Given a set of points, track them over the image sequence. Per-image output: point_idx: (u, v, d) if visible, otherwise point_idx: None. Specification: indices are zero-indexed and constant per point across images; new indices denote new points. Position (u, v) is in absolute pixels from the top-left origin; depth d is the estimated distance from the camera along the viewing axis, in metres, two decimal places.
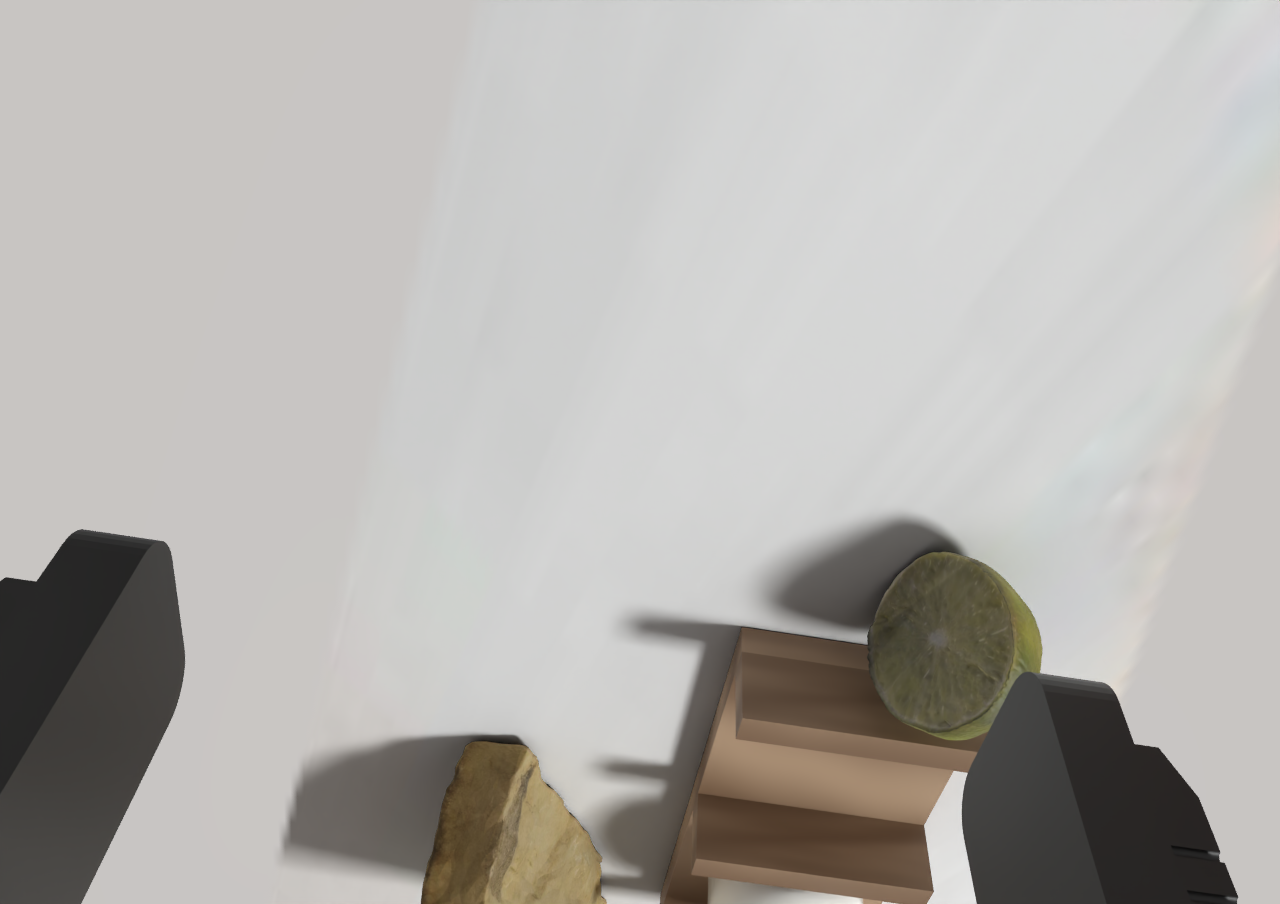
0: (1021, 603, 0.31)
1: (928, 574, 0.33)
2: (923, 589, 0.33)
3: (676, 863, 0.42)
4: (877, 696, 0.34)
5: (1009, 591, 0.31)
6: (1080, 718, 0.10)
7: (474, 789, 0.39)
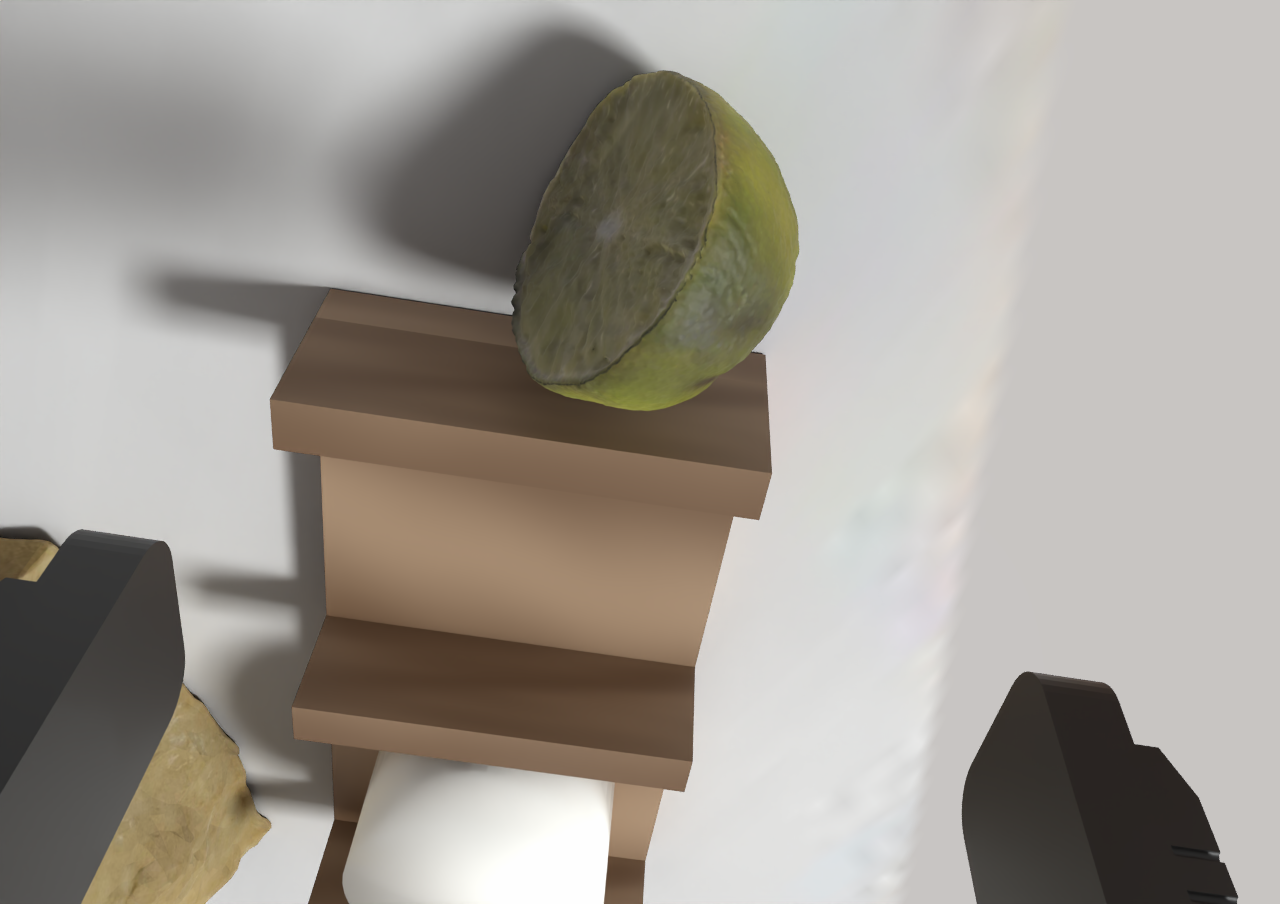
0: (745, 125, 0.16)
1: (605, 129, 0.18)
2: (596, 157, 0.18)
3: (332, 747, 0.27)
4: None
5: (722, 101, 0.16)
6: (1079, 718, 0.10)
7: None
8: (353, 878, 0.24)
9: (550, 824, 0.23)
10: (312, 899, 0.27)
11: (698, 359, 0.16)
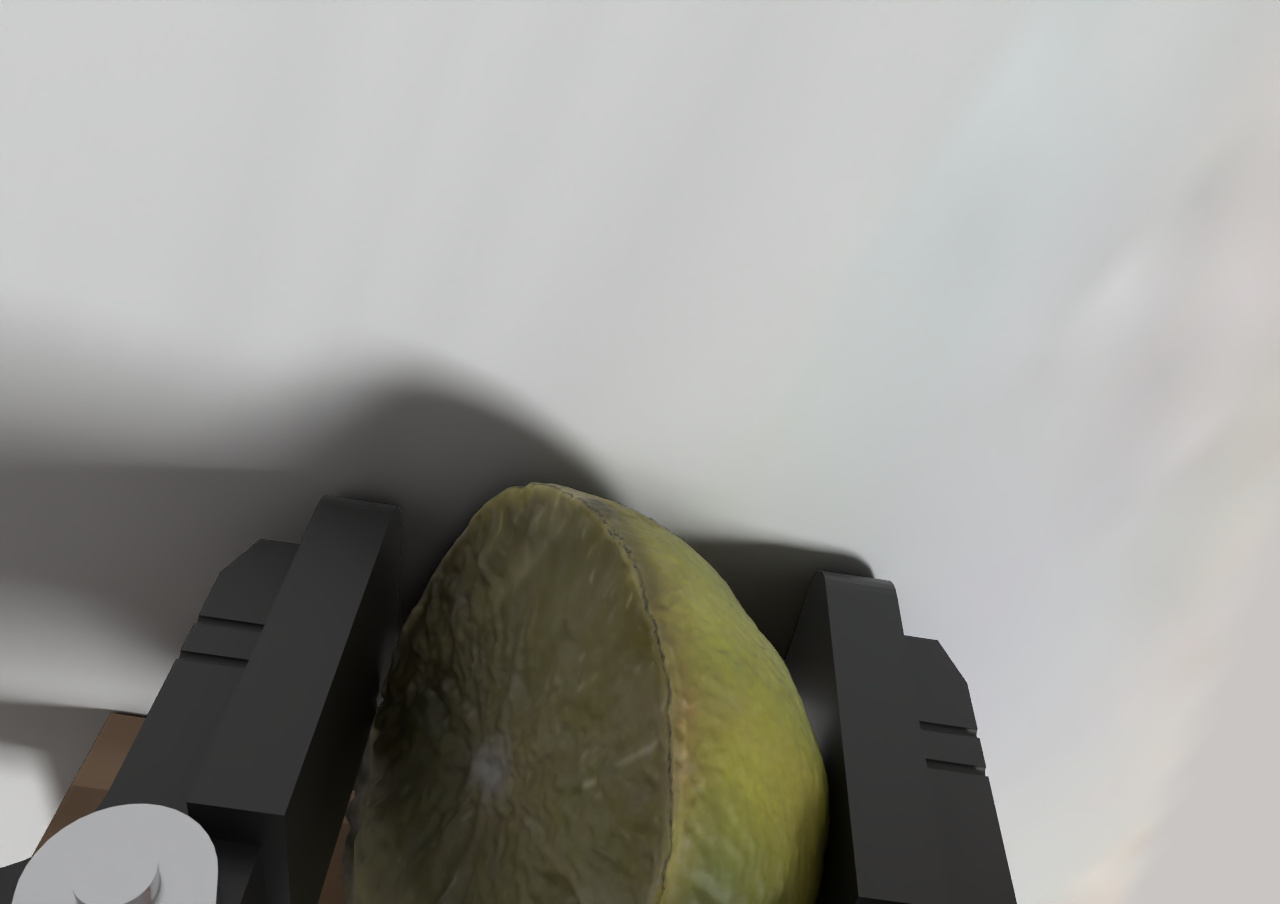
0: (732, 647, 0.08)
1: (494, 557, 0.10)
2: (479, 604, 0.10)
3: None
4: None
5: (687, 603, 0.08)
6: (855, 608, 0.10)
7: None
8: None
9: None
10: None
11: None
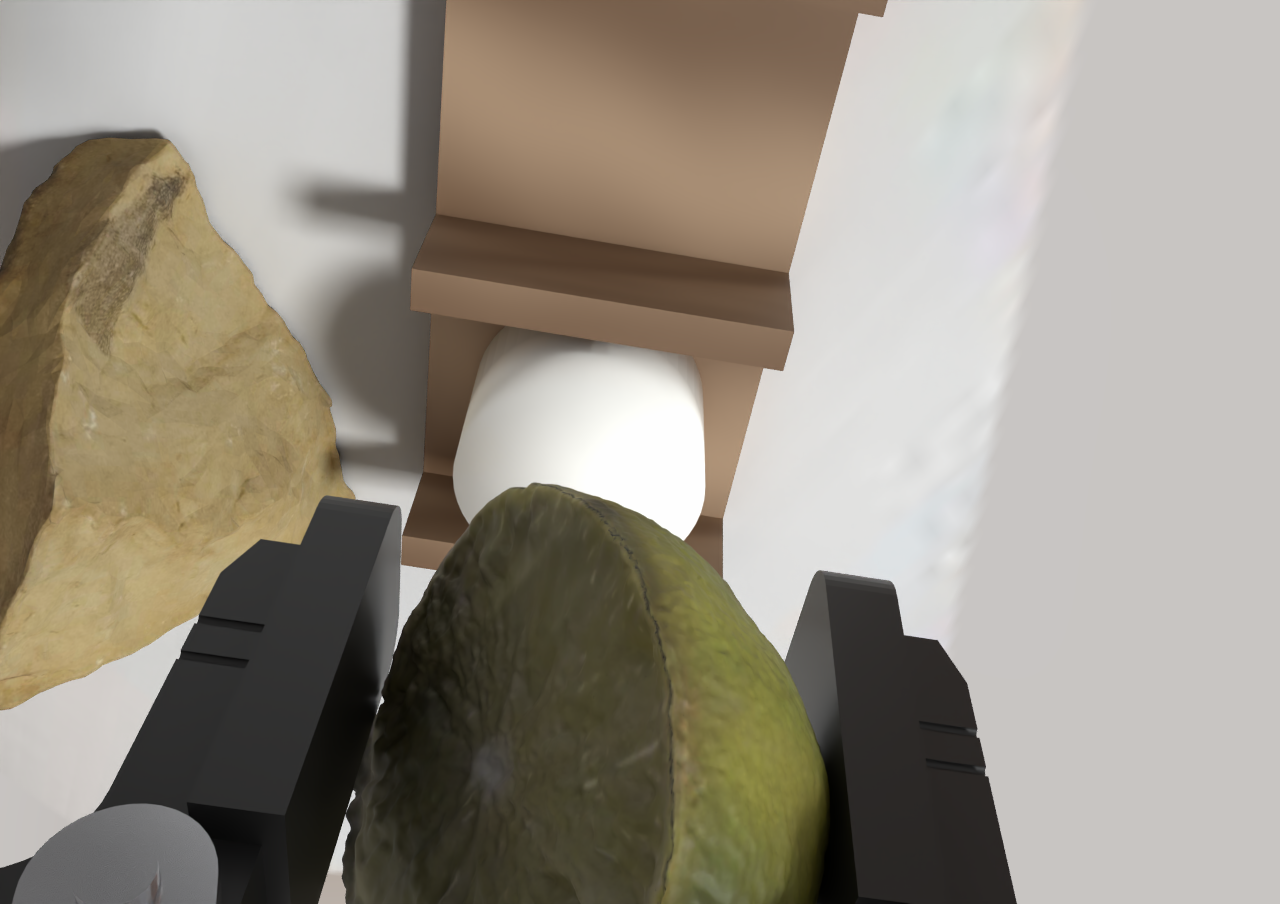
0: (733, 648, 0.08)
1: (494, 557, 0.10)
2: (480, 605, 0.10)
3: (428, 380, 0.28)
4: None
5: (688, 604, 0.08)
6: (856, 608, 0.10)
7: (74, 186, 0.24)
8: (463, 479, 0.25)
9: (640, 385, 0.24)
10: (407, 528, 0.28)
11: None
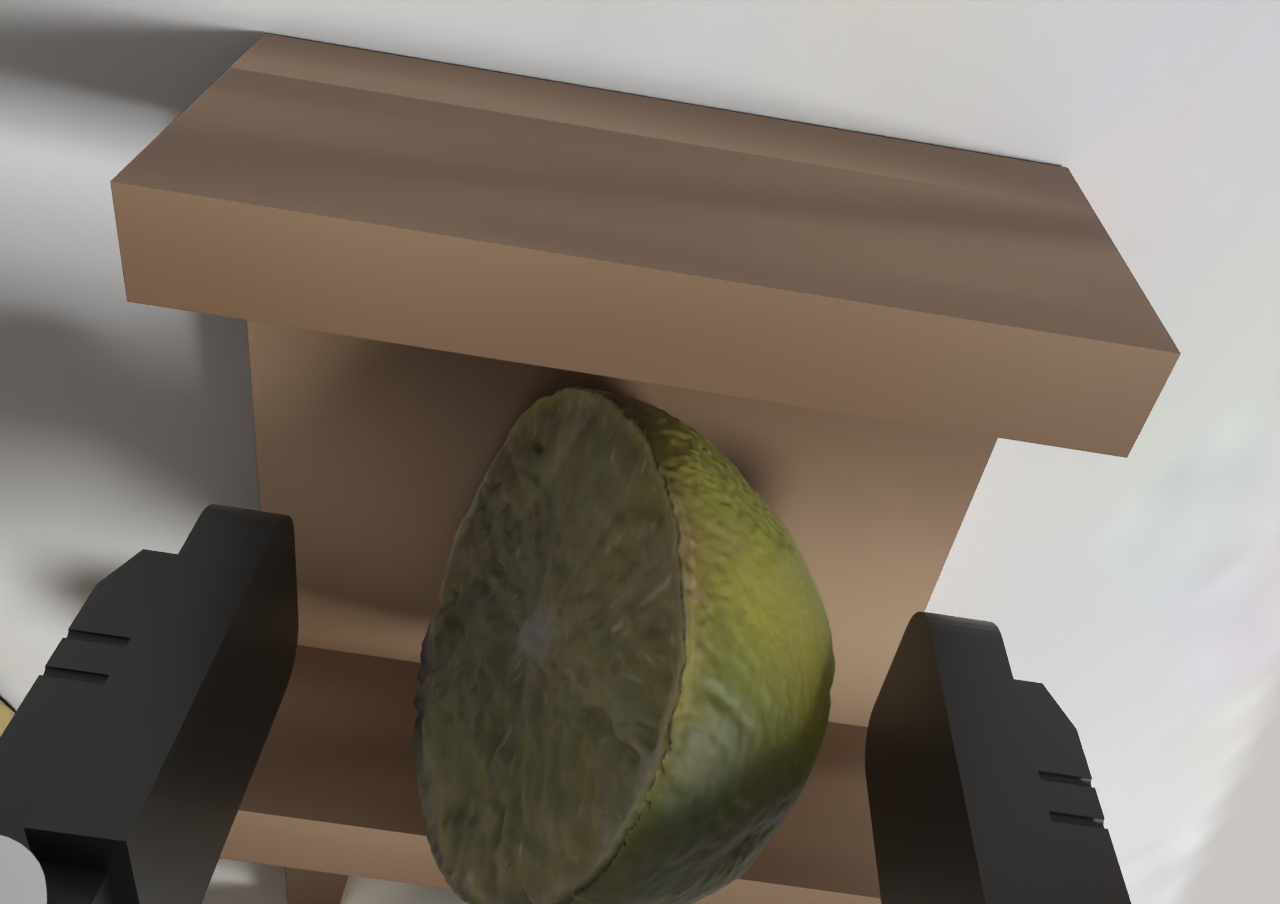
0: (734, 502, 0.10)
1: (530, 459, 0.12)
2: (519, 502, 0.12)
3: None
4: (678, 186, 0.10)
5: (693, 466, 0.10)
6: (962, 652, 0.10)
7: None
8: None
9: None
10: None
11: (675, 902, 0.09)
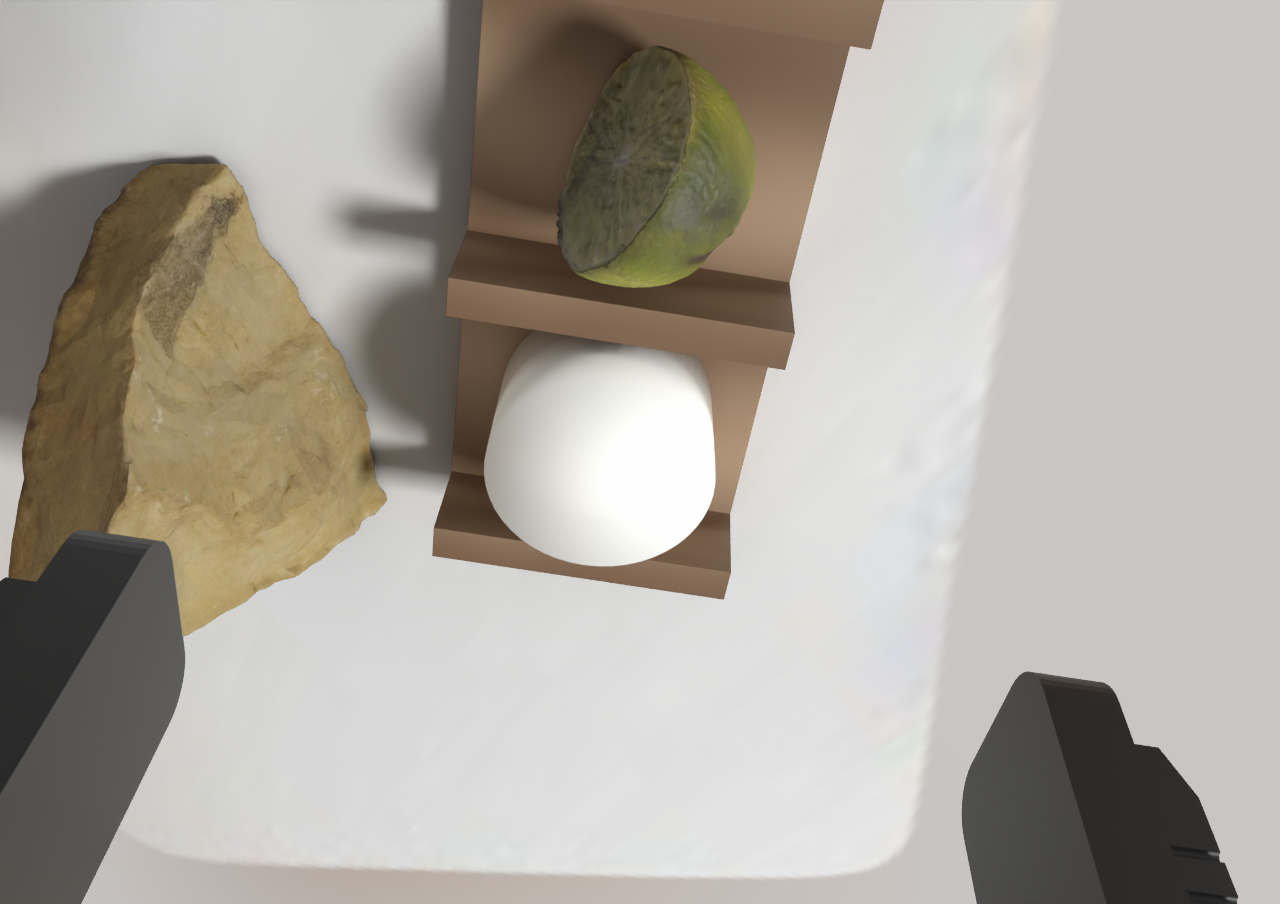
0: (711, 76, 0.23)
1: (615, 93, 0.25)
2: (610, 113, 0.25)
3: (458, 385, 0.31)
4: None
5: (693, 62, 0.23)
6: (1080, 718, 0.10)
7: (141, 207, 0.27)
8: (499, 498, 0.28)
9: (620, 370, 0.26)
10: (438, 521, 0.30)
11: (687, 238, 0.23)
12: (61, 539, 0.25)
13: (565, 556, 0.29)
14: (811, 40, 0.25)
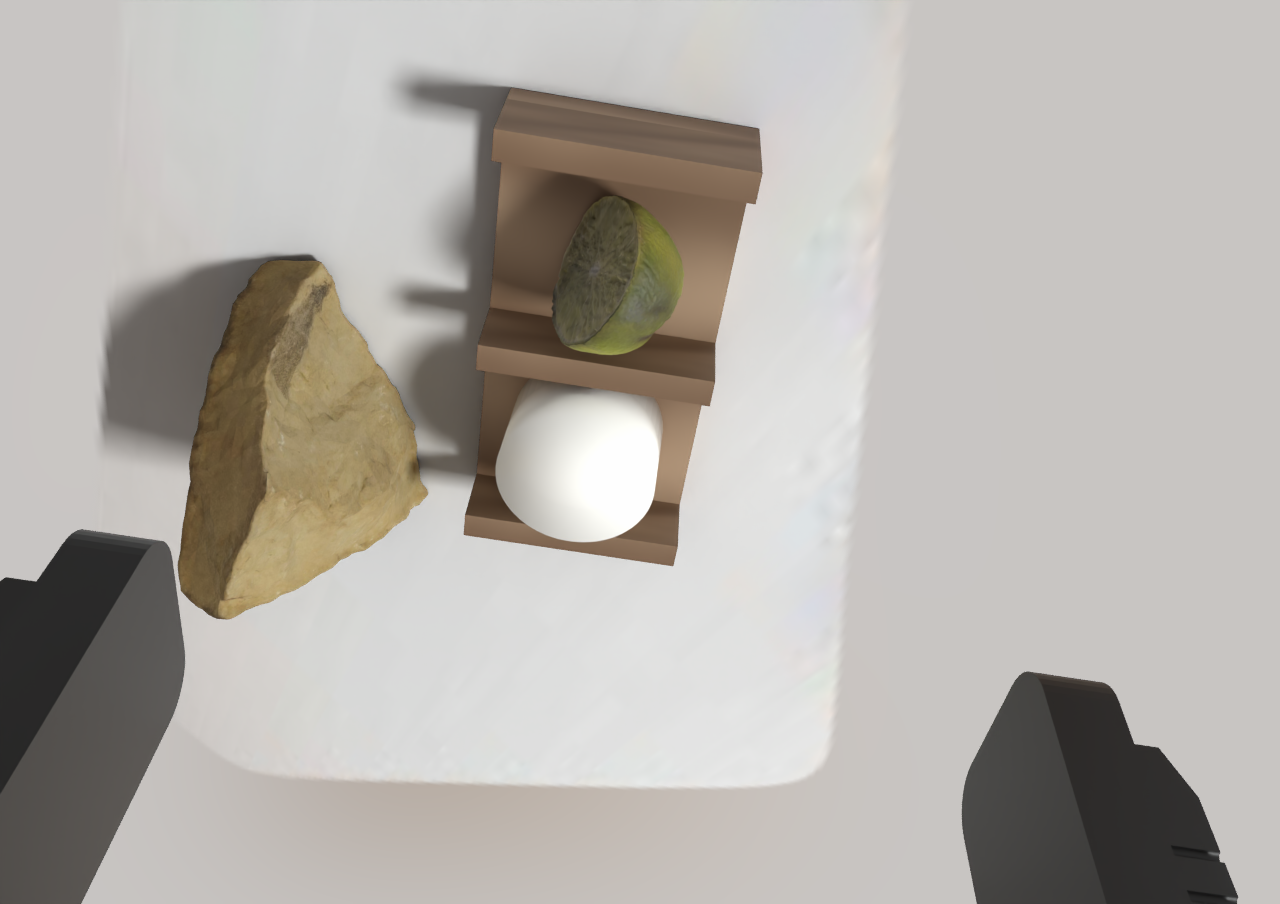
0: (652, 220, 0.35)
1: (591, 222, 0.37)
2: (588, 236, 0.37)
3: (482, 412, 0.43)
4: (635, 132, 0.35)
5: (640, 210, 0.35)
6: (1081, 718, 0.10)
7: (264, 293, 0.39)
8: (509, 499, 0.40)
9: (577, 406, 0.38)
10: (468, 510, 0.43)
11: (636, 327, 0.35)
12: (219, 523, 0.37)
13: (561, 536, 0.41)
14: None
